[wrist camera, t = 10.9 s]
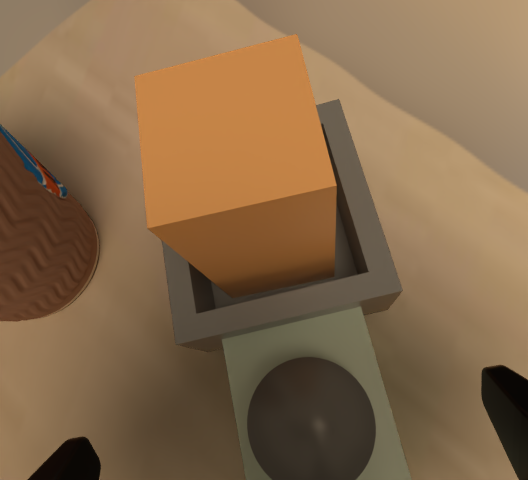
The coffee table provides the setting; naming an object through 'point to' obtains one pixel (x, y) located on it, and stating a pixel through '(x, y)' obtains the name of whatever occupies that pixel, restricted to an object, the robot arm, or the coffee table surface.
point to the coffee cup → (39, 238)
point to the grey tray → (306, 346)
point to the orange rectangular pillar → (239, 168)
